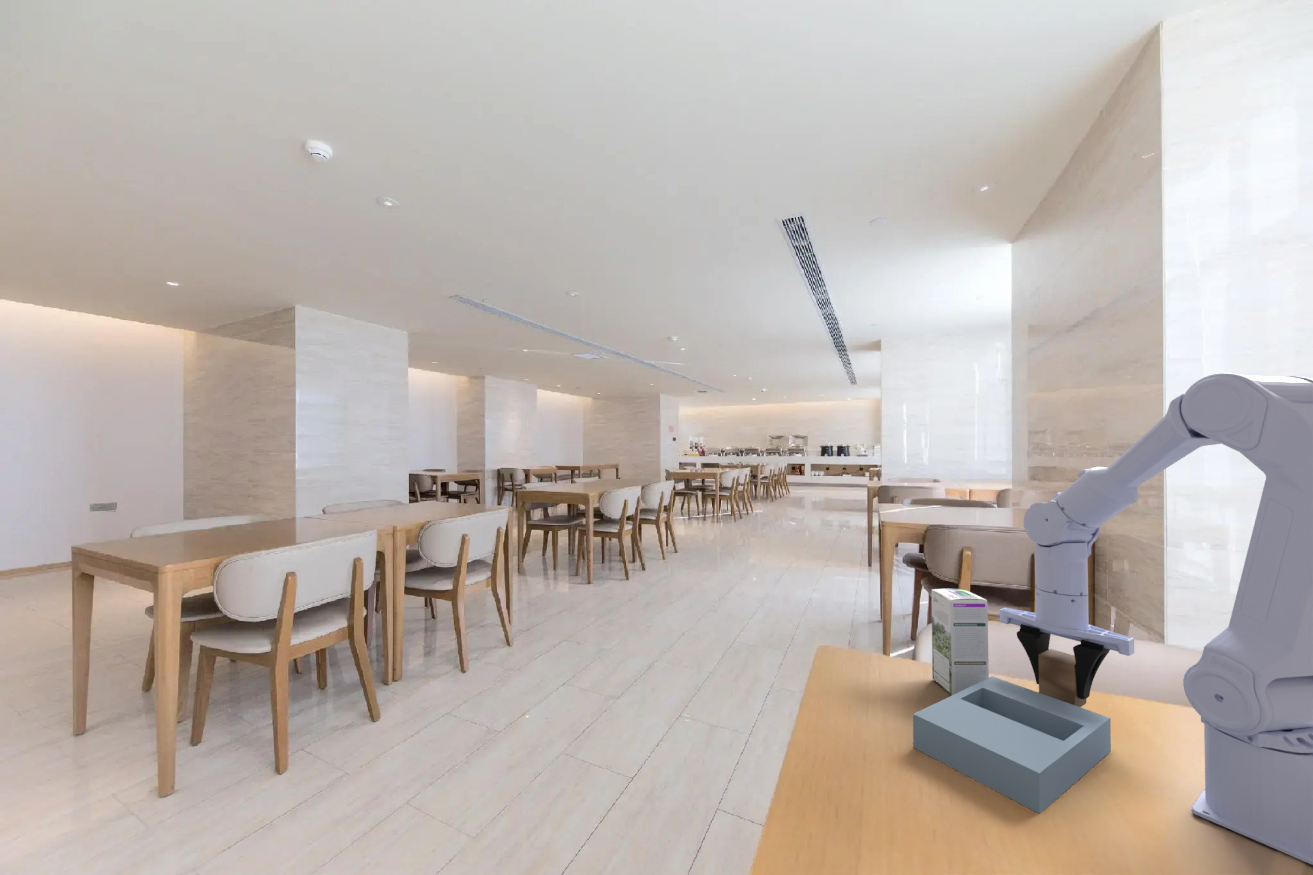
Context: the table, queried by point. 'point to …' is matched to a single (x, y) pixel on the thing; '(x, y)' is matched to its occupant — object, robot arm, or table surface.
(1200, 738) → the table surface
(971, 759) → the well stand
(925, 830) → the table surface
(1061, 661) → the walnut block
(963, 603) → the syrup box
